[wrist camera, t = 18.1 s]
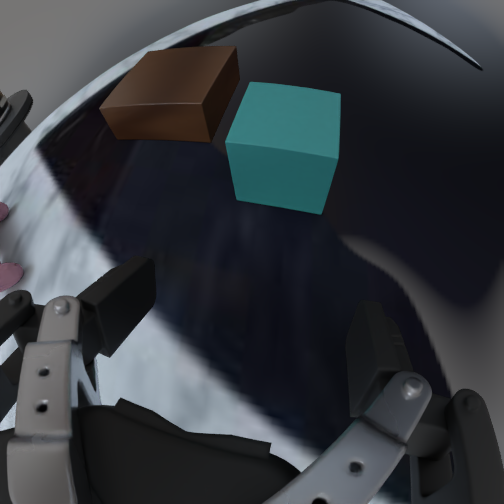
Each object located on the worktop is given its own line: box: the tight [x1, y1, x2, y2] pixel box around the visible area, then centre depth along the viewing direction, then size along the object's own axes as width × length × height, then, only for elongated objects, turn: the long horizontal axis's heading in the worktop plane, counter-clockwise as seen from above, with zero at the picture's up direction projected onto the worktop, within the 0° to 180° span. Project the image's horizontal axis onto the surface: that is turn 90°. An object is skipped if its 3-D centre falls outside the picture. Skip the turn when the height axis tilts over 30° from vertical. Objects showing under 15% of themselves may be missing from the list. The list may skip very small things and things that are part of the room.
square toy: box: [225, 82, 341, 215], centre depth 16 cm, size 6×6×6 cm
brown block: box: [99, 46, 240, 143], centre depth 20 cm, size 9×9×4 cm
